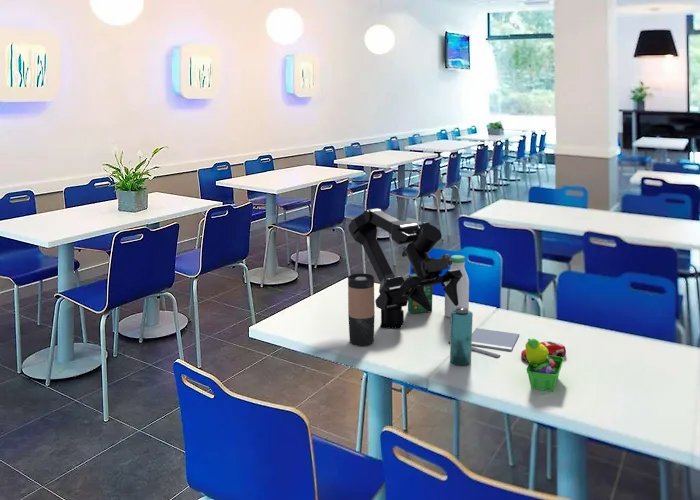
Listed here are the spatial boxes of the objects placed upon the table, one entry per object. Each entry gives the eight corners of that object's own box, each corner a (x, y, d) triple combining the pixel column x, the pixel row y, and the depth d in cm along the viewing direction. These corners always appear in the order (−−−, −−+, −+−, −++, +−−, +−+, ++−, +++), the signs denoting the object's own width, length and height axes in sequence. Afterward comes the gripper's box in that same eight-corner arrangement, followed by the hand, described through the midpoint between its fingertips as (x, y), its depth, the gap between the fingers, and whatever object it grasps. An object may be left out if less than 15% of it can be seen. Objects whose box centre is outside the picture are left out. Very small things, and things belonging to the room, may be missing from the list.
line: (448, 343, 179) (448, 342, 179) (451, 341, 180) (451, 340, 180) (497, 357, 168) (497, 356, 168) (500, 356, 170) (500, 355, 169)
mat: (465, 344, 178) (465, 342, 178) (476, 329, 189) (476, 327, 189) (511, 351, 173) (511, 349, 173) (519, 335, 184) (519, 333, 184)
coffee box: (429, 308, 209) (429, 271, 205) (433, 311, 206) (433, 274, 203) (407, 311, 206) (407, 274, 203) (410, 314, 204) (411, 276, 200)
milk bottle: (468, 320, 197) (470, 259, 193) (443, 318, 199) (445, 259, 194) (468, 312, 205) (470, 254, 200) (445, 310, 206) (446, 253, 202)
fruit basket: (557, 395, 147) (560, 351, 144) (519, 388, 151) (522, 345, 148) (562, 375, 157) (565, 334, 155) (527, 370, 161) (529, 329, 158)
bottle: (449, 365, 164) (451, 311, 160) (450, 357, 169) (451, 305, 166) (471, 367, 163) (472, 312, 159) (470, 358, 168) (472, 305, 165)
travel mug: (378, 339, 183) (378, 274, 178) (368, 348, 176) (367, 281, 171) (355, 335, 186) (354, 272, 181) (344, 344, 179) (343, 279, 174)
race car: (528, 365, 164) (529, 351, 163) (516, 358, 169) (517, 344, 168) (569, 357, 168) (570, 344, 167) (556, 350, 173) (557, 337, 172)
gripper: (405, 250, 165) (430, 300, 158) (459, 241, 174) (484, 288, 168) (389, 271, 174) (412, 319, 167) (441, 262, 183) (464, 307, 176)
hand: (444, 308), depth 169 cm, fingers open, 9 cm apart
